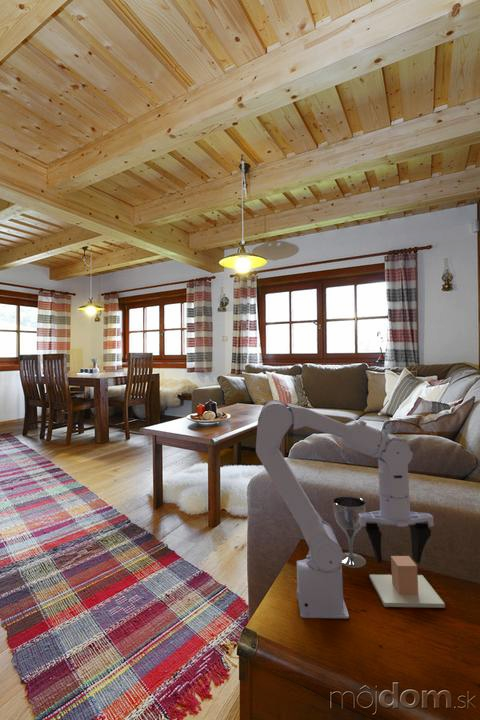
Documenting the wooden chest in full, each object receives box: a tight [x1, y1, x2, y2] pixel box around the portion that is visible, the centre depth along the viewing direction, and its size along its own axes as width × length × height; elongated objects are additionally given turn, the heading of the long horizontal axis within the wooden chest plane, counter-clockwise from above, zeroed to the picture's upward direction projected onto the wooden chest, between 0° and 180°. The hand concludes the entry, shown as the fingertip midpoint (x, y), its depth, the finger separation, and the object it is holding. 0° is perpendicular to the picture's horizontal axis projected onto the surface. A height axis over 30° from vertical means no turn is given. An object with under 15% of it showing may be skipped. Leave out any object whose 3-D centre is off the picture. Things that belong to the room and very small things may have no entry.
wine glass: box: [332, 495, 367, 569], centre depth 89 cm, size 8×8×15 cm
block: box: [390, 555, 419, 595], centre depth 76 cm, size 4×4×6 cm
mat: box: [369, 574, 446, 609], centre depth 76 cm, size 12×10×1 cm
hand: (397, 560), depth 71 cm, fingers open, 7 cm apart
